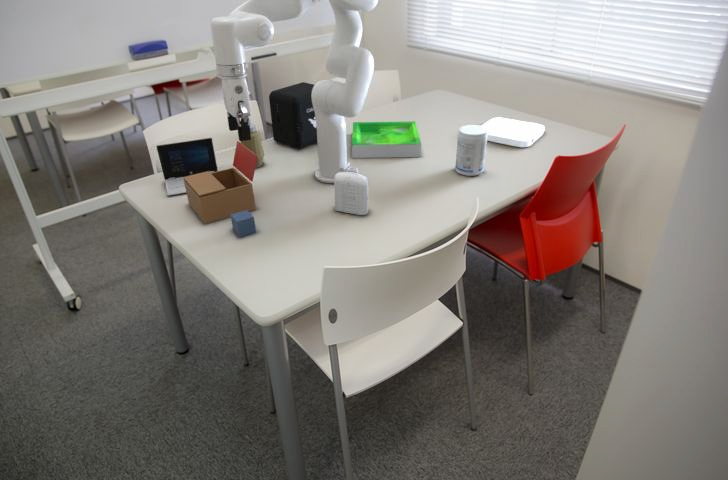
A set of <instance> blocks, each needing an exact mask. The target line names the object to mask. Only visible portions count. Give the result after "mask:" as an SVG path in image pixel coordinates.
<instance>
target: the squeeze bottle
mask: <svg viewBox="0 0 728 480" xmlns="http://www.w3.org/2000/svg"><path fill="white" fill-rule="evenodd" d="M248 118H249V124H250V134H251V140H246V141H240V143H241V144H243V145H244V146H245V147H247V148H248V149H249V150H250V151H252V152H253V153H254V154H256V155H257V156H258V157H257V162H256V167H255V169H256V168H259V167H262V165H263V163H264V157H265V152H264V151H265V150H264V147H263V142H262V138H261V134H260V132H259V131H258V130H257V127H256V124H254V123H253V122H252V120H251V116H248Z"/></svg>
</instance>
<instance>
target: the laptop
mask: <svg viewBox="0 0 728 480" xmlns="http://www.w3.org/2000/svg"><path fill="white" fill-rule="evenodd" d="M214 147H215V146H214V141H213V137H206V138H199V139H198V138H197V139H191V140H185V141H179V142H171V143H164V144H163V143H162V144H157V145H156V151H157V155H158V159H159V163H160V167H161V171H162V176H163V179H164V184H165V191H166V195H167V196H176V195H183V194H187V193H186V188H185V184H184V178H183V177H186V176H190V175H194V174H198V173H203V172H207V171H209V172H210V173H213V172H217V171H219V170H218V164H217V159H216V154H215V153H216V152H215V148H214Z"/></svg>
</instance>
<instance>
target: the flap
mask: <svg viewBox="0 0 728 480" xmlns="http://www.w3.org/2000/svg"><path fill="white" fill-rule="evenodd" d="M235 146H236V147H235V151H234V156H233V161H232V166H233V167H234V168H235V169H236V170H237V171H238V172H239V173H240V174H241V175H243V176H244V177H245V178H246V179H247V180H248V181H249V182H251V183H252V182H254V176H255V172H256V168H257V167H256V162H257V157H258V156H257V155H256V154H254V153H253V152H252V151H250V150H249V149H248V148H247V147H245V146H244V145H243V144H241V141H239V140H236V145H235ZM255 167H256V168H255Z"/></svg>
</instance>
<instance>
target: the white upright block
mask: <svg viewBox="0 0 728 480" xmlns="http://www.w3.org/2000/svg"><path fill="white" fill-rule="evenodd" d="M333 184H334V186H333V188H334V209H335V211H337V212H341V213H346V214H350V215H351V214H352V215H357V216H366V215H368V213H369V179H368V177H367V176H365V175H363V174H361V173H359V172H358V173H353V172H339V173H337V174H336V175H335V179H334V183H333Z"/></svg>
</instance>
